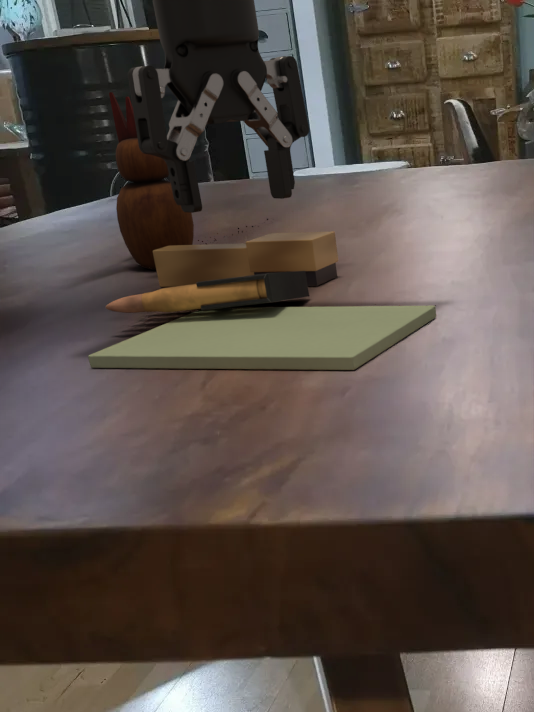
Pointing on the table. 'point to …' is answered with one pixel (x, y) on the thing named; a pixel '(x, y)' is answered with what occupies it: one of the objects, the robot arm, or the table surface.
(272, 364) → the felt mat
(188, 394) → the table surface
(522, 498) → the table surface
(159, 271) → the brush
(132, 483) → the table surface
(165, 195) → the wooden figurine
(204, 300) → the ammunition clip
